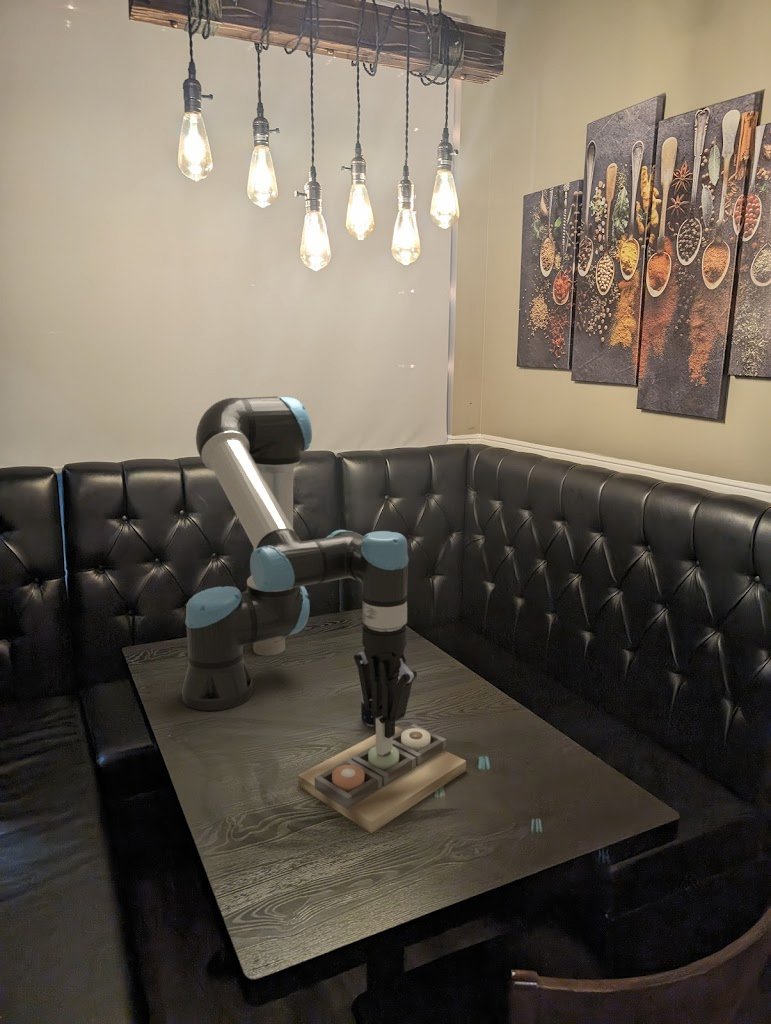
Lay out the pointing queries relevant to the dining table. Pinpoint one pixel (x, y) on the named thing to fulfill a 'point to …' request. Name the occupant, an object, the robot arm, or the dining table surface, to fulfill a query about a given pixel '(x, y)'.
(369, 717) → the beverage can
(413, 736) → the cream button
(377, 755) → the sage button
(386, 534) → the robot arm
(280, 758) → the dining table surface
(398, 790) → the panel
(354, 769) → the terracotta button
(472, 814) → the dining table surface
